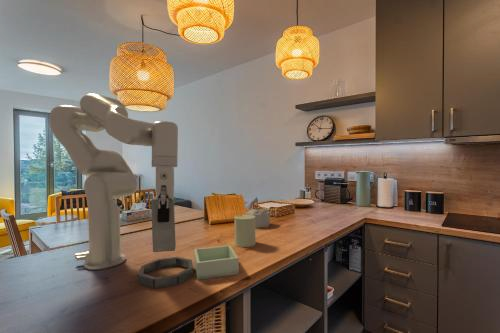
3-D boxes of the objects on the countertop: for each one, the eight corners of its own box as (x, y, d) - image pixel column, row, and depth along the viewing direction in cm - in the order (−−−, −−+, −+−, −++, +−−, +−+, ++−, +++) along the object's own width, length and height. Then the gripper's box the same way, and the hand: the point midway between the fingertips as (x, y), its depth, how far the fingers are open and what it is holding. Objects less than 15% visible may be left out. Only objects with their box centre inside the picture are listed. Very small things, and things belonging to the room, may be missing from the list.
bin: (197, 279, 73) (197, 263, 73) (194, 263, 85) (194, 249, 85) (238, 273, 76) (238, 257, 76) (230, 258, 88) (229, 245, 88)
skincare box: (175, 251, 73) (175, 198, 73) (149, 253, 71) (150, 199, 71) (175, 242, 81) (176, 194, 81) (152, 243, 79) (153, 195, 79)
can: (243, 239, 112) (243, 212, 112) (260, 243, 106) (259, 215, 106) (229, 244, 105) (229, 216, 104) (246, 248, 99) (245, 219, 99)
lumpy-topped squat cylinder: (244, 224, 138) (244, 209, 138) (263, 221, 144) (263, 207, 144) (253, 229, 129) (253, 212, 129) (274, 225, 135) (273, 209, 135)
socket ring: (136, 291, 66) (135, 282, 66) (143, 268, 81) (143, 260, 81) (194, 282, 71) (194, 274, 71) (191, 262, 86) (190, 255, 86)
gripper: (177, 162, 69) (176, 225, 69) (177, 162, 85) (176, 212, 86) (148, 162, 66) (148, 226, 67) (154, 161, 83) (153, 213, 83)
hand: (164, 218), depth 76 cm, fingers closed on skincare box, 8 cm apart
